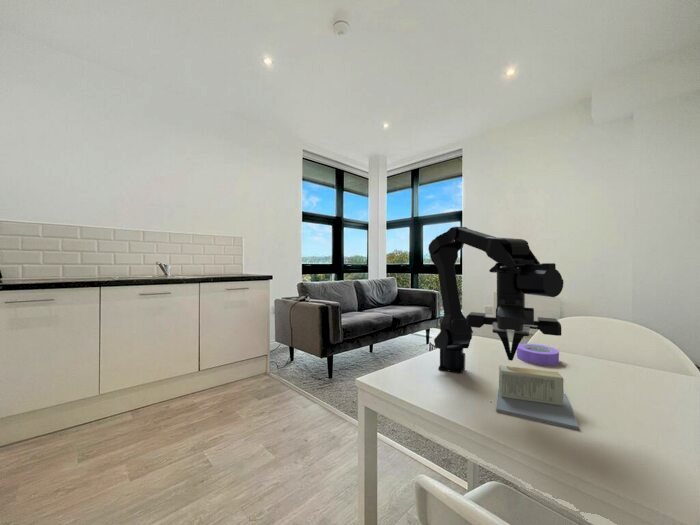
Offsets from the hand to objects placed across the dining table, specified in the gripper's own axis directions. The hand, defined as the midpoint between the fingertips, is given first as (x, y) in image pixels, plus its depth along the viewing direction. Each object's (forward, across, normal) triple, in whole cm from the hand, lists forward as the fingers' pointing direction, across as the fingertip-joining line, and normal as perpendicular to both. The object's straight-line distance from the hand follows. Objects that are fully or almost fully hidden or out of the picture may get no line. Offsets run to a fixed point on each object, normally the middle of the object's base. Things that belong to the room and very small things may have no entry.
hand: (510, 360), depth 68 cm
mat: (+9, +4, 0) cm, 10 cm away
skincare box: (+5, -2, +1) cm, 6 cm away
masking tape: (+10, +7, +37) cm, 39 cm away
